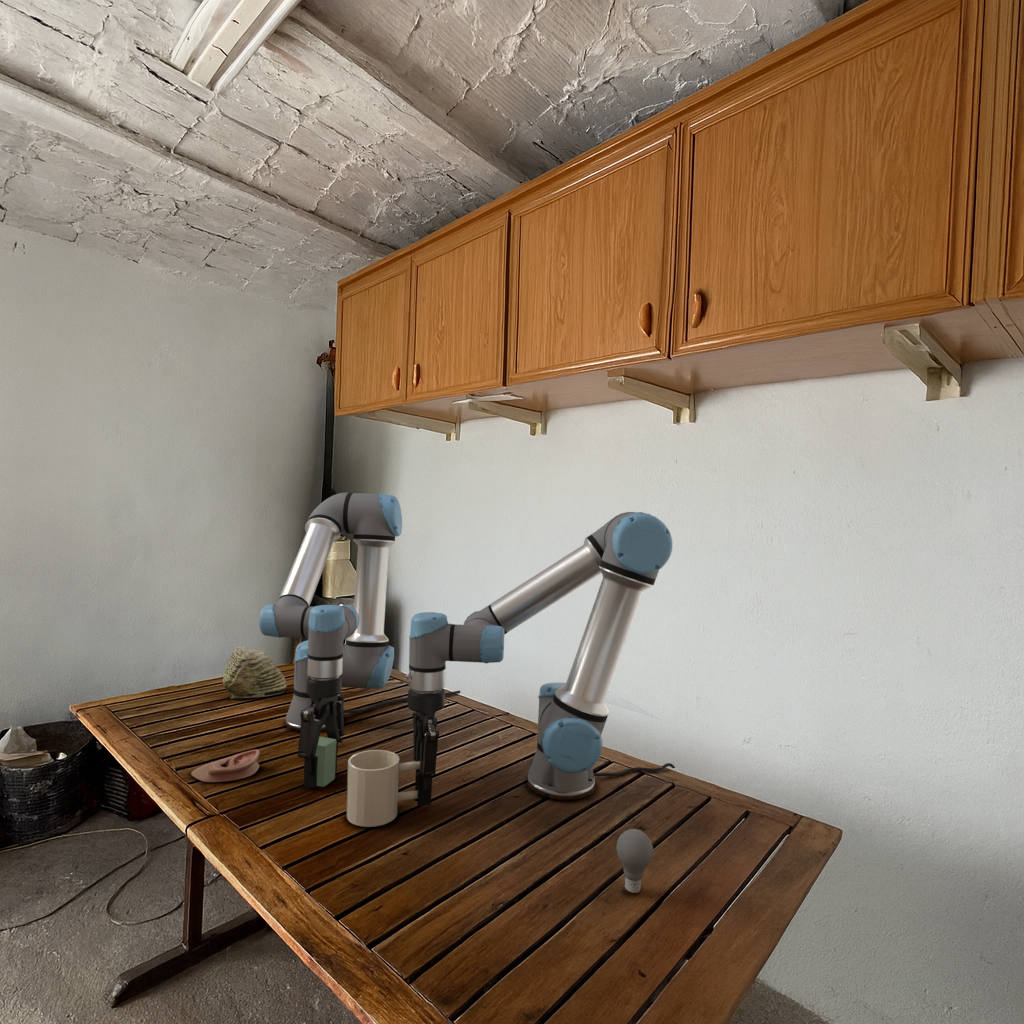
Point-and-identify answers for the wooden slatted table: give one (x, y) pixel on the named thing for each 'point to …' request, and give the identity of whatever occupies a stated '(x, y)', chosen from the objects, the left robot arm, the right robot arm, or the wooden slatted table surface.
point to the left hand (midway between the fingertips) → (320, 778)
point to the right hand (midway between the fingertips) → (422, 802)
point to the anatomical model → (229, 768)
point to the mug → (375, 787)
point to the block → (326, 761)
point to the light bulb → (634, 857)
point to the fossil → (252, 674)
